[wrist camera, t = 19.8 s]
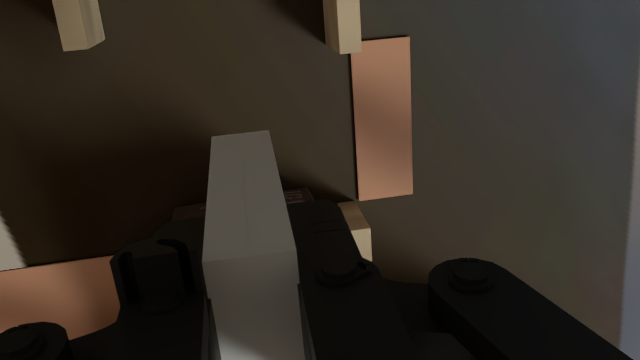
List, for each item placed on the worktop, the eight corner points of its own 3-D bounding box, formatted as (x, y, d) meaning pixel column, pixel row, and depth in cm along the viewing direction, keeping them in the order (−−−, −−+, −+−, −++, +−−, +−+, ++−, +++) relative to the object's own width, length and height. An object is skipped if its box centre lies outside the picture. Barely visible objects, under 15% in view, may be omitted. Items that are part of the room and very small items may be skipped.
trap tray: (-267, -211, 18) (-357, -245, 15) (403, -236, 21) (431, -269, 18) (-40, 406, 26) (-71, 457, 23) (415, 331, 29) (435, 369, 26)
